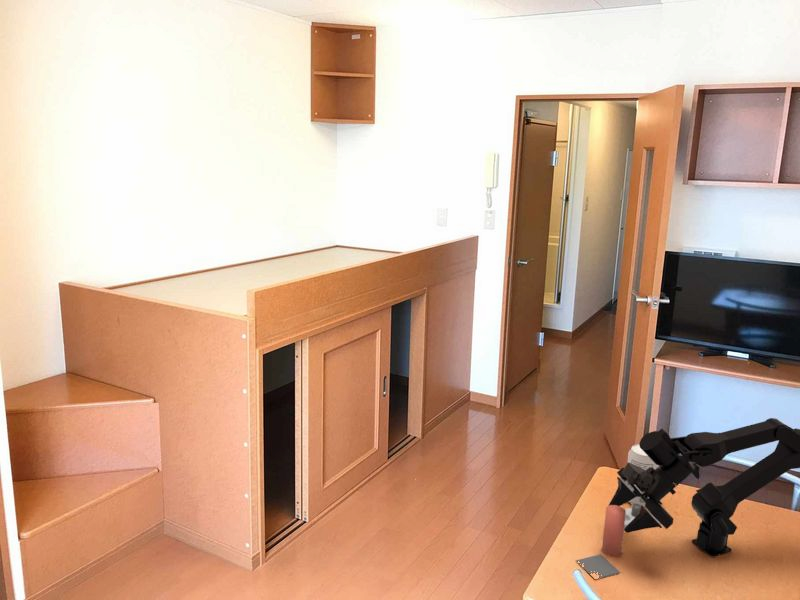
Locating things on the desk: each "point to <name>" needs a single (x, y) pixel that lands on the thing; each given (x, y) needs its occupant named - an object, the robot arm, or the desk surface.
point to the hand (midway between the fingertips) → (616, 519)
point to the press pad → (598, 566)
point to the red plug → (613, 530)
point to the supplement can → (640, 460)
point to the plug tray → (628, 511)
